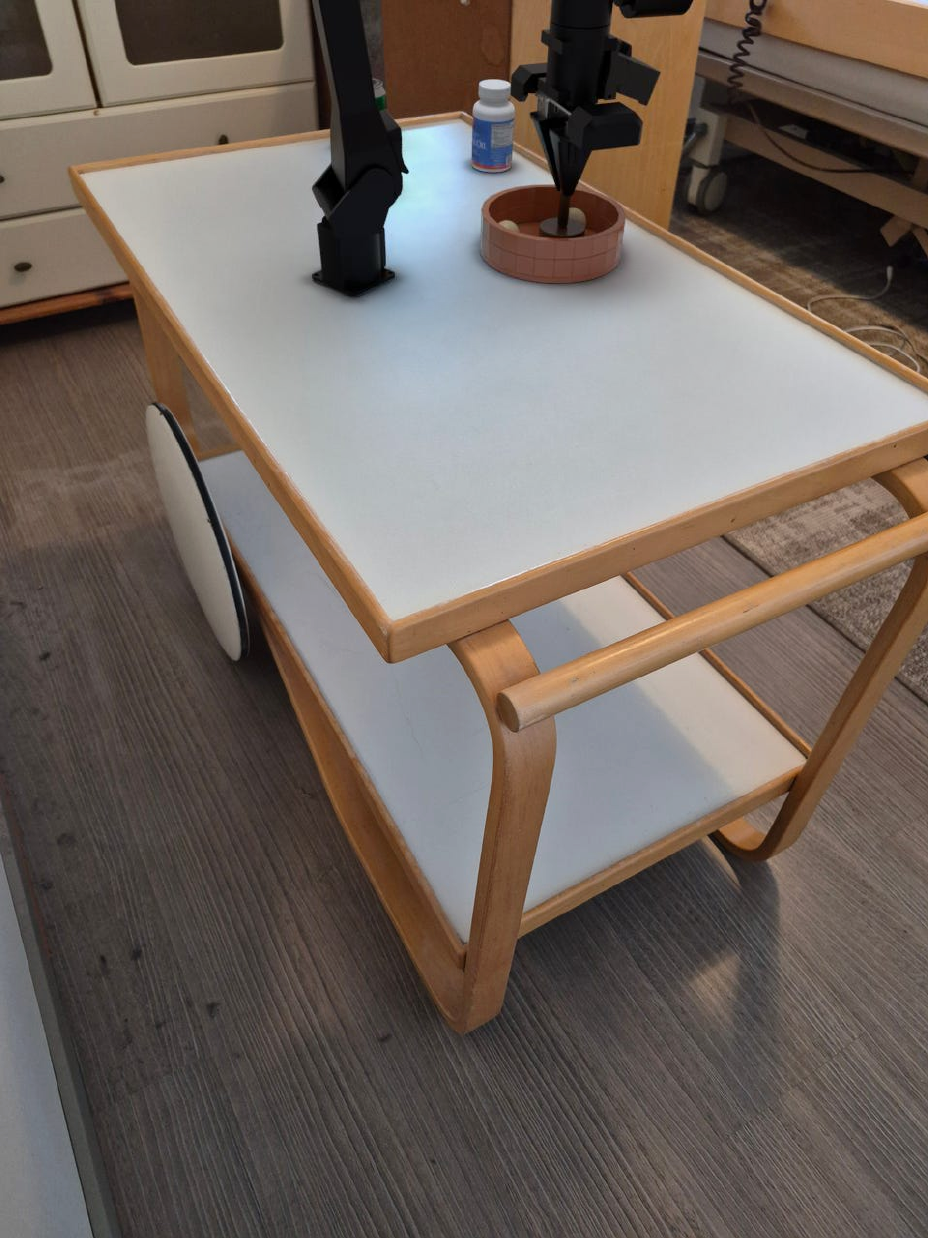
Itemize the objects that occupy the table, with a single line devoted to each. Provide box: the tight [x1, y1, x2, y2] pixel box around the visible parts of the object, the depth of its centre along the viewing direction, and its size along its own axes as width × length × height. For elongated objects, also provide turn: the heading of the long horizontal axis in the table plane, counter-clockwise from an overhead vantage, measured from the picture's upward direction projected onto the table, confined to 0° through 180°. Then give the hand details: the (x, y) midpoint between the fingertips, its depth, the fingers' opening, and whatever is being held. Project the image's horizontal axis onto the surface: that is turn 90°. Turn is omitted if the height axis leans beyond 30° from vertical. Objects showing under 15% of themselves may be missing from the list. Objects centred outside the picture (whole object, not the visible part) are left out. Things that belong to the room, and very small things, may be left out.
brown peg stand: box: [539, 187, 585, 238], centre depth 97 cm, size 5×5×9 cm
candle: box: [360, 0, 388, 104], centre depth 117 cm, size 8×7×20 cm
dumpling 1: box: [498, 220, 520, 233], centre depth 99 cm, size 3×3×3 cm
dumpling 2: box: [569, 208, 586, 226], centre depth 102 cm, size 3×3×3 cm
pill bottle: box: [470, 78, 516, 173], centre depth 116 cm, size 6×5×10 cm
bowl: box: [479, 183, 627, 284], centre depth 100 cm, size 16×16×4 cm
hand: (564, 193), depth 96 cm, fingers closed on brown peg stand
